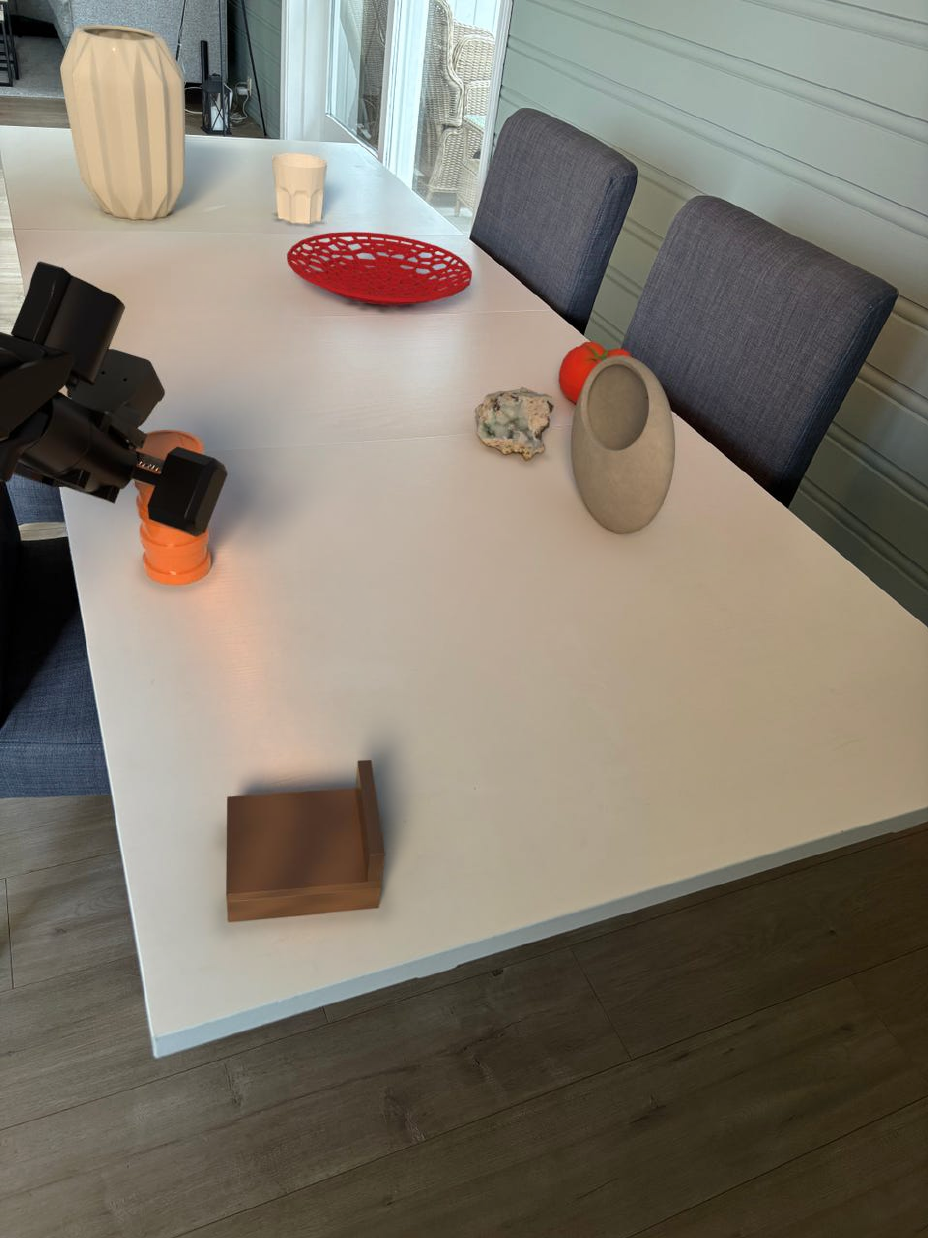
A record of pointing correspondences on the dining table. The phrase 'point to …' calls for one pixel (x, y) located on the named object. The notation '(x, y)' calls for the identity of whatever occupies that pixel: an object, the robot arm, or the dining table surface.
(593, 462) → the planter
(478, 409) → the mineral specimen
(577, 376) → the tomato
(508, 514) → the dining table surface
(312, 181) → the cup
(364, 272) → the bowl
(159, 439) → the orange ribbed tumbler
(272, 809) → the bookend
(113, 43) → the vase
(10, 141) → the dining table surface
